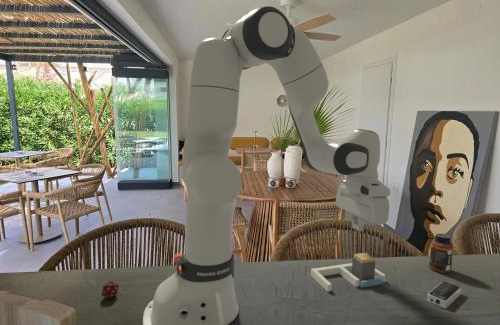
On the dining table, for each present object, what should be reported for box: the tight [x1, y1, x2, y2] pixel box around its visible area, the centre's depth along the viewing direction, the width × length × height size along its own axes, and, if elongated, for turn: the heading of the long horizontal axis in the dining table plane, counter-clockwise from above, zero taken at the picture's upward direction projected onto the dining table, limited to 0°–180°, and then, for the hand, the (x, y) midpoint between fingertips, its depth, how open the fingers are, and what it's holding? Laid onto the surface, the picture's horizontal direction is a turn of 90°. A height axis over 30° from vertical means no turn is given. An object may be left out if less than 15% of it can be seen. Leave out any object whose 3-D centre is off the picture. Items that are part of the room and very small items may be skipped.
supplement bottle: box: [428, 233, 454, 274], centre depth 95 cm, size 6×6×11 cm
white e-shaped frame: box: [310, 262, 387, 293], centre depth 89 cm, size 19×10×2 cm, turn 107°
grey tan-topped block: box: [351, 252, 376, 284], centre depth 89 cm, size 4×4×7 cm
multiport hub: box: [426, 281, 462, 309], centre depth 80 cm, size 4×11×2 cm, turn 128°
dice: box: [101, 280, 119, 300], centre depth 78 cm, size 4×4×4 cm
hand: (357, 229), depth 91 cm, fingers closed
